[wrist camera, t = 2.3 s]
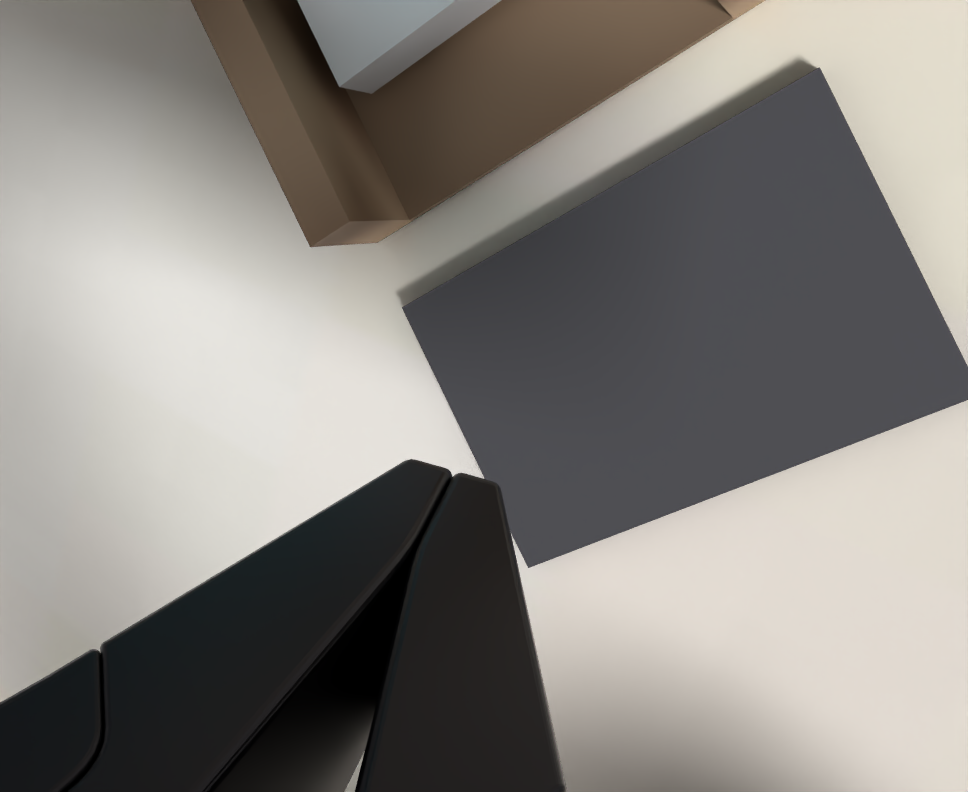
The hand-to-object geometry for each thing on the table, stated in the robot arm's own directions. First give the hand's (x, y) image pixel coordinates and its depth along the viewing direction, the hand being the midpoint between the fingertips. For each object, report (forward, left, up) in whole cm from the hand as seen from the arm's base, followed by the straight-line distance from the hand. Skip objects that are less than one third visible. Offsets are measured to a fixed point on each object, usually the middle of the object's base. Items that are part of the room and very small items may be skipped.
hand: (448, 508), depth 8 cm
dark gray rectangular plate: (0, 0, -10) cm, 10 cm away
